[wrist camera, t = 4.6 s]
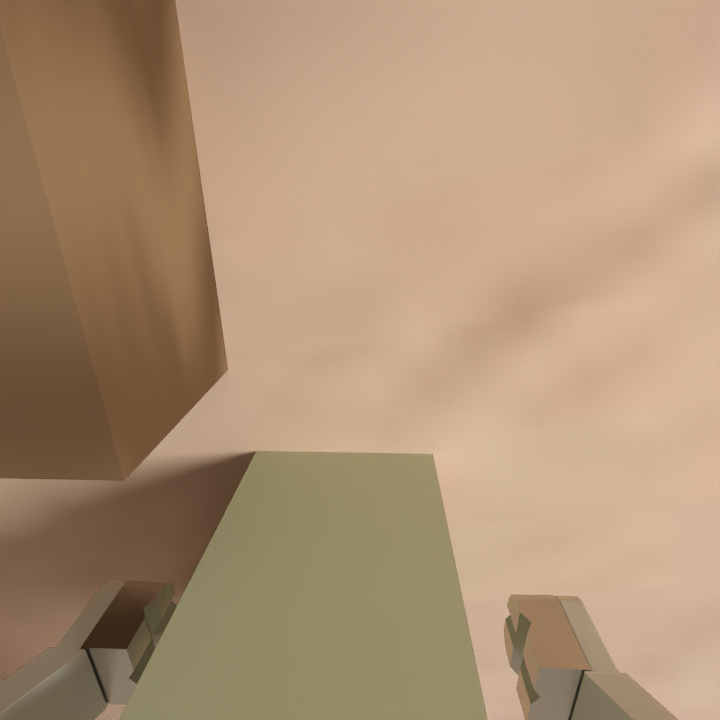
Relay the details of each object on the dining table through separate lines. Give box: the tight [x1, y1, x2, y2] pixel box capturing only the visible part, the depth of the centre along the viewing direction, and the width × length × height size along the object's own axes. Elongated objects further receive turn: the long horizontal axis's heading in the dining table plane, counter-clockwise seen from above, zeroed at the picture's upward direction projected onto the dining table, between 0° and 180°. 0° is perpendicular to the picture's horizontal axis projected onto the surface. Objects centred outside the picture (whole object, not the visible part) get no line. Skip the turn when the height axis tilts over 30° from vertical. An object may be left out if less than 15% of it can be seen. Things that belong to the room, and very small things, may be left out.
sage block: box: [119, 451, 488, 720], centre depth 9 cm, size 5×5×7 cm
